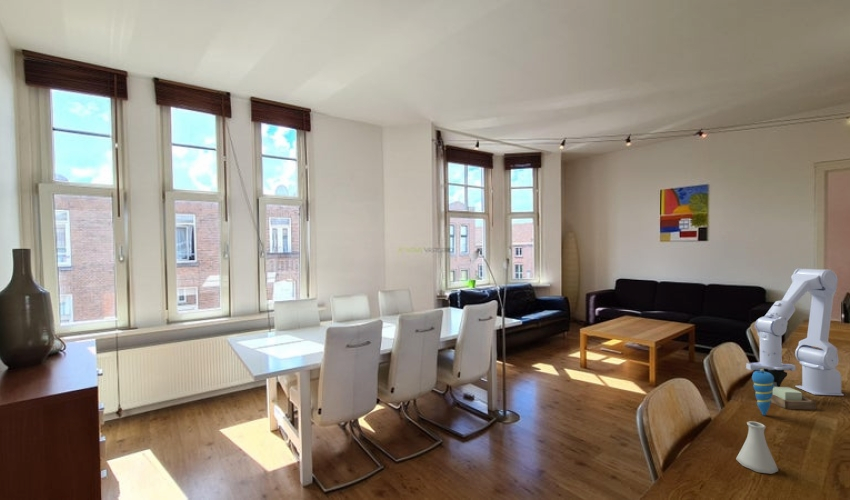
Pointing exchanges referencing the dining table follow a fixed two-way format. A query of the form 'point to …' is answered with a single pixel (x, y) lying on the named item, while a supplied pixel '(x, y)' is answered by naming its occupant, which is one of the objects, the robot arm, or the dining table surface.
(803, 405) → the frame
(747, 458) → the flask
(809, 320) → the robot arm
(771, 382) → the ornament
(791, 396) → the sage block
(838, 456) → the dining table surface
